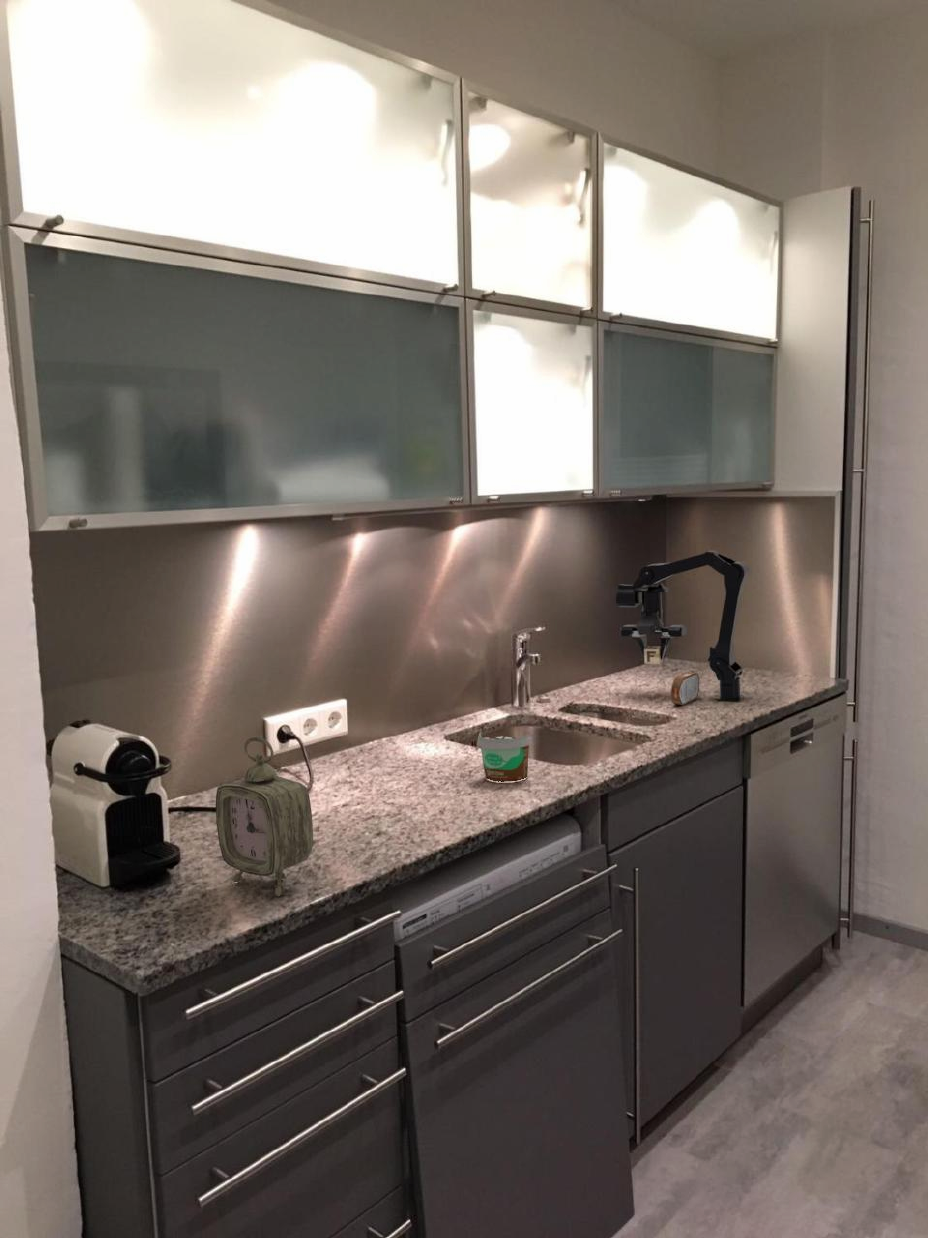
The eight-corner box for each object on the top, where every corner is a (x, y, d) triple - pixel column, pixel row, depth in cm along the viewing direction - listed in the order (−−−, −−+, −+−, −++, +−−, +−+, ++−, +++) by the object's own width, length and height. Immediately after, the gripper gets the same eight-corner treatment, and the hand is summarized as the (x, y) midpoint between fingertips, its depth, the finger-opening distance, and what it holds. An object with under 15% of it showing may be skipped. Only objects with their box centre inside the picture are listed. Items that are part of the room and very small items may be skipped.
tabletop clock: (221, 885, 168) (208, 738, 166) (264, 868, 175) (252, 726, 172) (279, 903, 159) (266, 747, 156) (321, 884, 166) (310, 735, 163)
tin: (691, 697, 297) (690, 669, 296) (701, 698, 295) (701, 669, 294) (670, 707, 285) (669, 678, 284) (680, 708, 283) (679, 678, 282)
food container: (470, 784, 220) (468, 739, 219) (480, 776, 226) (478, 732, 224) (524, 787, 215) (522, 741, 214) (533, 779, 221) (531, 734, 220)
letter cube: (649, 661, 304) (648, 646, 304) (663, 661, 302) (663, 646, 302) (644, 663, 300) (643, 648, 300) (659, 664, 298) (658, 648, 298)
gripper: (612, 610, 296) (615, 663, 298) (675, 610, 288) (677, 664, 290) (625, 606, 306) (627, 657, 308) (686, 605, 298) (687, 658, 299)
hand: (653, 659), depth 301 cm, fingers closed on letter cube, 4 cm apart
